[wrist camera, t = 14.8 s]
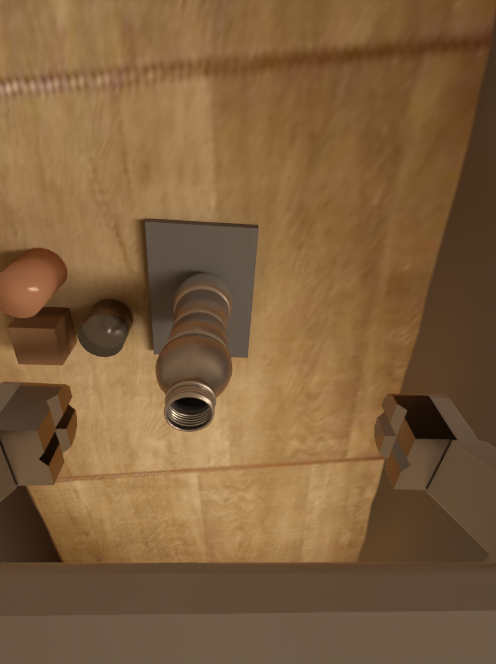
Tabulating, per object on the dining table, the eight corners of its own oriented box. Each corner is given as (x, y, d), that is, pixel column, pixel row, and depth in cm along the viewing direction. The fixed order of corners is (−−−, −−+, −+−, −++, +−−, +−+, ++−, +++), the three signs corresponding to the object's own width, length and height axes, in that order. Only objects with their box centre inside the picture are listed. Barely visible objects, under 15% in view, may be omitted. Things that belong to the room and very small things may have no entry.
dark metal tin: (92, 295, 47) (77, 315, 42) (134, 302, 47) (124, 323, 43) (91, 330, 49) (78, 353, 45) (132, 337, 50) (122, 359, 45)
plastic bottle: (243, 298, 46) (252, 420, 29) (198, 326, 48) (180, 457, 31) (211, 256, 43) (199, 363, 26) (164, 287, 45) (124, 407, 28)
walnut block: (27, 306, 47) (7, 327, 43) (69, 307, 47) (53, 328, 43) (36, 340, 50) (18, 364, 45) (77, 341, 50) (62, 365, 46)
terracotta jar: (17, 245, 43) (-17, 270, 37) (64, 250, 43) (38, 275, 37) (25, 286, 46) (-6, 315, 40) (69, 290, 46) (45, 320, 40)
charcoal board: (146, 218, 42) (144, 221, 41) (257, 225, 43) (258, 228, 42) (155, 348, 51) (154, 354, 50) (247, 352, 52) (247, 357, 51)
